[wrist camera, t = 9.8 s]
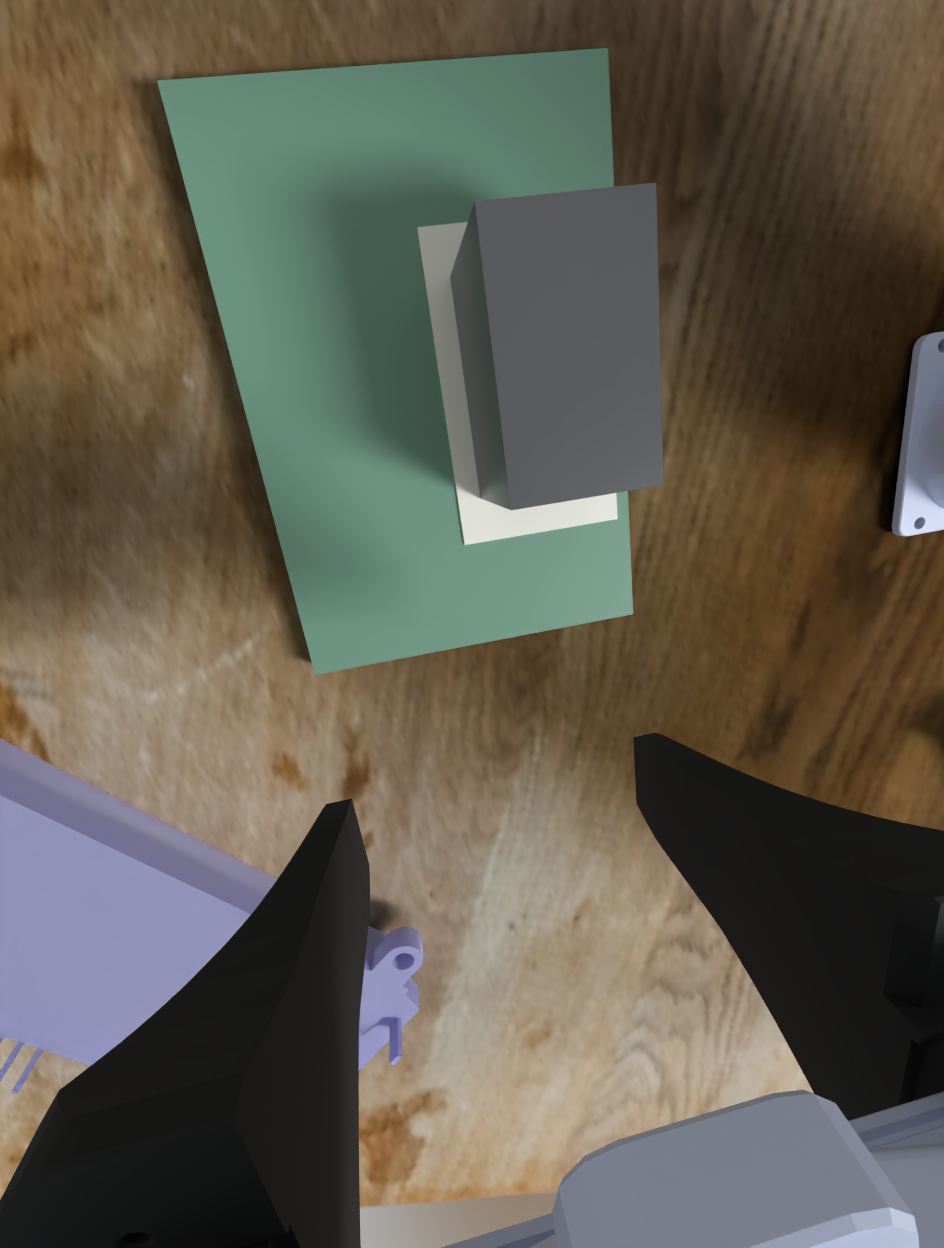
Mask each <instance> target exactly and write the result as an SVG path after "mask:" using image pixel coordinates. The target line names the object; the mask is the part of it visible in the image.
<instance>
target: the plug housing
mask: <svg viewBox="0 0 944 1248" xmlns="http://www.w3.org/2000/svg"><path fill="white" fill-rule="evenodd" d="M450 280H451V287H452V295H453V302H454V309H455V316H456V324H457V331H458V338H459V346H460V353H461V360H462V368H463V375H464V382H465V390H466V397H467V404H468V411H469V419H470V426H471V433H472V441H473V448H474V455H475V463H476V470H477V477H478V485H479V492H480V499H483V500H486V501H488V502H491V503H493V504H496V505H499V506H501V507H504V508H506V509H509V510H517V509H523V508H529V507H535V506H541V505H547V504H553V503H559V502H565V501H571V500H577V499H583V498H589V497H595V496H601V495H607V494H613V493H619V492H625V491H631V490H637V489H643V488H649V487H655V486H661V485H663V446H662V404H661V362H660V320H659V278H658V236H657V195H656V182H655V183H646V184H636V185H627V186H617V187H607V188H598V189H588V190H578V191H569V192H559V193H549V194H540V195H530V196H521V197H511V198H501V199H492V200H482V201H475V202H474V205H473V208H472V211H471V214H470V217H469V220H468V223H467V226H466V229H465V232H464V236H463V239H462V242H461V245H460V248H459V251H458V254H457V257H456V260H455V263H454V266H453V269H452V272H451V276H450Z"/></svg>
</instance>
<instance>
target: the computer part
mask: <svg viewBox="0 0 944 1248" xmlns="http://www.w3.org/2000/svg"><path fill="white" fill-rule="evenodd" d="M276 881H277V879H276V878H274V877H272V876H270V875H268V874H266V873H264V872H262V871H260V870H258V869H256V868H254V867H252V866H250V865H248V864H246V863H244V862H243V861H241V860H239V859H237V858H235V857H233V856H231V855H229V854H227V853H225V852H223V851H221V850H219V849H217V848H215V847H213V846H211V845H209V844H207V843H205V842H203V841H201V840H199V839H197V838H195V837H193V836H191V835H189V834H187V833H185V832H183V831H181V830H179V829H177V828H176V827H174V826H172V825H170V824H168V823H166V822H164V821H162V820H160V819H158V818H156V817H154V816H152V815H150V814H148V813H146V812H144V811H142V810H140V809H138V808H136V807H134V806H132V805H130V804H128V803H126V802H124V801H122V800H120V799H118V798H116V797H114V796H112V795H110V794H109V793H107V792H105V791H103V790H101V789H99V788H97V787H95V786H93V785H91V784H89V783H87V782H85V781H83V780H81V779H79V778H77V777H75V776H73V775H71V774H69V773H67V772H65V771H63V770H61V769H59V768H57V767H55V766H53V765H51V764H49V763H47V762H45V761H44V760H42V759H40V758H38V757H36V756H34V755H32V754H30V753H28V752H26V751H24V750H22V749H20V748H18V747H16V746H14V745H12V744H10V743H8V742H6V741H4V740H2V739H0V1043H1V1042H2V1040H3V1039H4V1037H5V1038H8V1039H11V1040H14V1041H17V1042H19V1043H18V1044H17V1046H16V1047H15V1049H14V1050H13V1052H12V1053H11V1055H10V1057H9V1058H8V1060H7V1061H6V1063H5V1064H4V1066H3V1067H2V1069H1V1071H0V1081H1V1079H2V1078H3V1076H4V1075H5V1073H6V1071H7V1070H8V1068H9V1067H10V1065H11V1064H12V1062H13V1060H14V1059H15V1057H16V1056H17V1054H18V1052H19V1051H20V1049H21V1048H22V1046H23V1044H26V1045H29V1046H32V1047H35V1048H38V1049H37V1051H36V1053H35V1054H34V1056H33V1058H32V1059H31V1061H30V1063H29V1064H28V1066H27V1067H26V1069H25V1071H24V1072H23V1074H22V1076H21V1077H20V1079H19V1081H18V1082H17V1084H16V1086H15V1087H14V1089H13V1091H12V1092H11V1093H13V1094H17V1093H18V1092H19V1090H20V1088H21V1087H22V1085H23V1083H24V1082H25V1080H26V1078H27V1076H28V1075H29V1073H30V1071H31V1070H32V1068H33V1066H34V1065H35V1063H36V1061H37V1060H38V1058H39V1056H40V1054H41V1053H42V1051H43V1050H44V1051H47V1052H50V1053H53V1054H56V1055H59V1056H62V1057H65V1058H68V1059H71V1060H74V1061H77V1062H80V1063H83V1064H86V1065H89V1066H91V1065H93V1064H94V1063H95V1062H96V1061H98V1060H99V1059H100V1058H101V1057H103V1056H104V1055H105V1054H106V1053H108V1052H109V1051H110V1050H112V1049H113V1048H114V1047H115V1046H117V1045H118V1044H119V1043H120V1042H122V1041H123V1040H124V1039H125V1038H126V1037H128V1036H129V1035H130V1034H131V1033H132V1032H134V1031H135V1030H136V1029H137V1028H138V1027H139V1026H141V1025H142V1024H143V1023H144V1022H145V1021H146V1020H147V1019H149V1018H150V1017H151V1016H152V1015H153V1014H154V1013H155V1012H157V1011H158V1010H159V1009H160V1008H161V1007H162V1006H163V1005H164V1004H165V1003H167V1002H168V1001H169V1000H170V999H171V998H172V997H173V996H174V995H175V994H176V993H177V992H178V991H180V990H181V989H182V988H183V987H184V986H185V985H186V984H187V983H188V982H189V981H190V980H191V979H192V978H193V977H194V976H195V975H196V974H197V973H198V972H199V971H200V970H201V969H202V968H203V967H204V966H205V965H206V964H207V963H208V962H209V961H210V959H211V958H212V957H213V956H214V955H215V954H216V953H217V952H218V951H219V950H220V949H221V948H222V947H223V946H224V945H225V944H226V943H227V942H228V941H229V940H230V938H231V937H232V936H233V935H234V934H235V933H236V932H237V930H238V929H239V928H240V927H241V926H242V925H243V924H244V922H245V921H246V920H247V919H248V918H249V916H250V915H251V914H252V913H253V911H254V910H255V909H256V908H257V906H258V905H259V904H260V902H261V901H262V900H263V898H264V897H265V896H266V894H267V893H268V892H269V890H270V889H271V887H272V886H273V885H274V883H275V882H276ZM422 963H423V949H422V937H421V935H420V933H419V932H418V931H417V930H415V929H413V928H409V927H402V928H397V929H395V930H393V931H391V932H390V933H389V934H388V935H386V934H384V933H382V932H380V931H378V930H376V929H375V928H373V927H371V926H369V925H368V936H367V946H366V956H365V966H364V976H363V986H362V996H361V1006H360V1022H359V1071H360V1070H361V1069H362V1068H363V1067H364V1066H365V1065H366V1064H367V1063H368V1062H369V1061H370V1060H371V1059H372V1058H373V1057H374V1056H375V1055H376V1054H377V1053H378V1052H379V1050H380V1049H381V1048H382V1047H383V1046H384V1045H385V1044H386V1043H387V1042H388V1041H389V1040H390V1064H391V1065H395V1064H396V1063H397V1062H398V1061H399V1060H400V1059H401V1058H402V1033H401V1028H402V1027H403V1026H404V1025H405V1024H406V1023H407V1022H408V1021H409V1020H410V1019H411V1018H412V1017H413V1016H414V1015H415V1014H416V1013H417V1012H418V1011H419V1010H420V1009H419V991H418V986H417V985H416V983H415V982H414V981H413V980H412V979H411V977H412V976H413V975H414V974H415V972H416V971H417V970H418V969H419V968H420V967H421V965H422Z"/></svg>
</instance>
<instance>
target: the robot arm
mask: <svg viewBox="0 0 944 1248" xmlns="http://www.w3.org/2000/svg"><path fill="white" fill-rule="evenodd" d="M939 343H940V348H939V350H938V345H939ZM915 521H916V524H915ZM914 524H915V525H914ZM938 530H944V332H936V333H931V334H927V335H924V336H921V337H920V338H919V339H918V340H917V342H916V343H915V345H914V348H913V353H912V362H911V370H910V378H909V387H908V395H907V403H906V412H905V420H904V428H903V437H902V445H901V453H900V462H899V470H898V478H897V487H896V495H895V503H894V512H893V520H892V531H893V533H894V534H896V535H898V536H911V535H917V534H922V533H928V532H933V531H938ZM634 758H635V779H636V800H637V805H638V807H639V809H640V811H641V813H642V815H643V817H644V818H645V820H646V822H647V824H648V826H649V828H650V829H651V831H652V833H653V835H654V836H655V838H656V840H657V841H658V842H659V844H660V845H661V847H662V848H663V850H664V851H665V852H666V854H667V855H668V856H669V858H670V859H671V861H672V862H673V863H674V865H675V866H676V868H677V869H678V870H679V872H680V873H681V874H682V876H683V877H684V878H685V880H686V881H687V882H688V884H689V885H690V887H691V888H692V889H693V891H694V892H695V893H696V895H697V896H698V897H699V899H700V900H701V902H702V903H703V904H704V906H705V907H706V908H707V910H708V911H709V912H710V914H711V915H712V917H713V918H714V920H715V921H716V922H717V924H718V925H719V927H720V928H721V930H722V931H723V933H724V934H725V936H726V938H727V939H728V941H729V943H730V944H731V946H732V948H733V949H734V951H735V953H736V954H737V956H738V958H739V959H740V961H741V963H742V964H743V966H744V968H745V969H746V971H747V973H748V974H749V976H750V978H751V979H752V981H753V983H754V985H755V986H756V988H757V990H758V992H759V993H760V995H761V997H762V999H763V1000H764V1002H765V1004H766V1006H767V1007H768V1009H769V1011H770V1013H771V1014H772V1016H773V1018H774V1020H775V1021H776V1023H777V1025H778V1027H779V1029H780V1031H781V1032H782V1034H783V1036H784V1038H785V1040H786V1042H787V1043H788V1045H789V1047H790V1049H791V1051H792V1053H793V1055H794V1056H795V1058H796V1060H797V1062H798V1064H799V1066H800V1067H801V1069H802V1071H803V1073H804V1075H805V1077H806V1079H807V1080H808V1082H809V1084H810V1086H811V1088H812V1090H813V1092H814V1094H813V1093H811V1092H808V1091H805V1090H798V1091H789V1092H781V1093H773V1094H769V1095H766V1096H763V1097H759V1098H756V1099H753V1100H749V1101H746V1102H743V1103H739V1104H736V1105H733V1106H729V1107H726V1108H723V1109H719V1110H716V1111H713V1112H709V1113H706V1114H703V1115H699V1116H696V1117H693V1118H689V1119H686V1120H683V1121H679V1122H676V1123H673V1124H669V1125H666V1126H663V1127H659V1128H656V1129H653V1130H649V1131H646V1132H643V1133H639V1134H636V1135H633V1136H629V1137H626V1138H623V1139H619V1140H617V1141H615V1142H613V1143H611V1144H608V1145H606V1146H604V1147H602V1148H600V1149H598V1150H596V1151H594V1152H592V1153H590V1154H588V1155H586V1156H584V1157H583V1158H582V1159H581V1160H580V1161H579V1162H578V1163H577V1164H576V1165H575V1166H574V1167H573V1169H572V1170H571V1171H570V1172H569V1173H568V1174H567V1175H566V1176H565V1177H564V1178H563V1179H562V1181H561V1184H560V1186H559V1189H558V1193H557V1196H556V1200H555V1204H554V1208H553V1212H552V1213H551V1214H548V1215H545V1216H542V1217H539V1218H536V1219H532V1220H529V1221H526V1222H523V1223H519V1224H516V1225H513V1226H510V1227H506V1228H504V1229H500V1230H497V1231H494V1232H490V1233H487V1234H484V1235H481V1236H478V1237H474V1238H471V1239H468V1240H465V1241H461V1242H458V1243H455V1244H452V1245H449V1246H445V1247H442V1248H944V831H942V830H937V829H932V828H926V827H921V826H916V825H911V824H906V823H901V822H897V821H892V820H888V819H883V818H879V817H875V816H871V815H867V814H863V813H860V812H856V811H852V810H848V809H844V808H841V807H837V806H834V805H830V804H827V803H824V802H821V801H818V800H815V799H812V798H809V797H806V796H803V795H800V794H797V793H794V792H791V791H788V790H785V789H782V788H780V787H777V786H774V785H772V784H769V783H767V782H764V781H762V780H760V779H757V778H755V777H752V776H750V775H747V774H745V773H743V772H740V771H738V770H736V769H734V768H731V767H729V766H727V765H725V764H723V763H720V762H718V761H716V760H714V759H712V758H710V757H708V756H705V755H703V754H701V753H699V752H697V751H695V750H693V749H691V748H689V747H687V746H685V745H683V744H681V743H678V742H676V741H674V740H672V739H670V738H668V737H665V736H663V735H661V734H658V733H652V734H647V735H643V736H638V737H634ZM369 914H370V874H369V863H368V859H367V855H366V851H365V847H364V844H363V840H362V836H361V832H360V828H359V825H358V821H357V817H356V813H355V809H354V806H353V802H352V799H348V800H343V801H339V802H334V803H329V804H326V805H325V807H324V808H323V810H322V811H321V813H320V814H319V816H318V818H317V819H316V821H315V823H314V824H313V826H312V828H311V829H310V831H309V832H308V834H307V836H306V837H305V839H304V840H303V842H302V844H301V845H300V847H299V848H298V850H297V851H296V853H295V854H294V856H293V857H292V859H291V860H290V862H289V863H288V865H287V866H286V868H285V869H284V871H283V872H282V874H281V875H280V877H279V878H278V879H277V881H276V882H275V883H274V885H273V886H272V887H271V889H270V890H269V892H268V893H267V894H266V896H265V897H264V898H263V900H262V901H261V902H260V904H259V905H258V906H257V908H256V909H255V910H254V911H253V913H252V914H251V915H250V916H249V918H248V919H247V920H246V921H245V922H244V924H243V925H242V926H241V927H240V928H239V929H238V930H237V932H236V933H235V934H234V935H233V936H232V937H231V938H230V940H229V941H228V942H227V943H226V944H225V945H224V946H223V947H222V948H221V949H220V950H219V951H218V952H217V953H216V954H215V955H214V956H213V957H212V958H211V959H210V961H209V962H208V963H207V964H206V965H205V966H204V967H203V968H202V969H201V970H200V971H199V972H198V973H197V974H196V975H195V976H194V977H193V978H192V979H191V980H190V981H189V982H188V983H187V984H186V985H185V986H184V987H183V988H182V989H181V990H180V991H178V992H177V993H176V994H175V995H174V996H173V997H172V998H171V999H170V1000H169V1001H168V1002H167V1003H165V1004H164V1005H163V1006H162V1007H161V1008H160V1009H159V1010H158V1011H157V1012H155V1013H154V1014H153V1015H152V1016H151V1017H150V1018H149V1019H147V1020H146V1021H145V1022H144V1023H143V1024H142V1025H141V1026H139V1027H138V1028H137V1029H136V1030H135V1031H134V1032H132V1033H131V1034H130V1035H129V1036H128V1037H126V1038H125V1039H124V1040H123V1041H122V1042H120V1043H119V1044H118V1045H117V1046H115V1047H114V1048H113V1049H112V1050H110V1051H109V1052H108V1053H106V1054H105V1055H104V1056H103V1057H101V1058H100V1059H99V1060H98V1061H96V1062H95V1063H94V1064H93V1065H91V1066H90V1067H89V1068H88V1069H86V1070H85V1071H84V1072H82V1073H81V1074H80V1075H79V1076H77V1077H76V1078H75V1079H74V1080H72V1081H71V1082H70V1083H68V1084H67V1085H66V1086H64V1087H63V1088H62V1089H60V1090H59V1092H58V1093H57V1095H56V1097H55V1099H54V1100H53V1102H52V1104H51V1106H50V1107H49V1109H48V1111H47V1113H46V1114H45V1116H44V1118H43V1120H42V1122H41V1123H40V1125H39V1127H38V1129H37V1131H36V1133H35V1135H34V1137H33V1139H32V1140H31V1142H30V1144H29V1146H28V1148H27V1150H26V1152H25V1154H24V1156H23V1158H22V1160H21V1162H20V1164H19V1165H18V1167H17V1169H16V1171H15V1173H14V1175H13V1177H12V1179H11V1181H10V1183H9V1185H8V1187H7V1189H6V1190H5V1192H4V1194H3V1196H2V1198H1V1200H0V1248H361V1246H360V1203H359V1094H358V1081H359V1022H360V1006H361V996H362V986H363V976H364V966H365V956H366V946H367V936H368V925H369Z"/></svg>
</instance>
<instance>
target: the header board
mask: <svg viewBox="0 0 944 1248" xmlns="http://www.w3.org/2000/svg"><path fill="white" fill-rule="evenodd" d="M157 82H158V86H159V90H160V94H161V97H162V101H163V105H164V109H165V112H166V116H167V120H168V124H169V127H170V131H171V135H172V139H173V142H174V146H175V150H176V154H177V157H178V161H179V165H180V169H181V172H182V176H183V180H184V184H185V188H186V191H187V195H188V199H189V203H190V206H191V210H192V214H193V218H194V221H195V225H196V229H197V233H198V236H199V240H200V244H201V248H202V251H203V255H204V259H205V263H206V267H207V270H208V274H209V278H210V282H211V285H212V289H213V293H214V297H215V300H216V304H217V308H218V312H219V315H220V319H221V323H222V327H223V330H224V334H225V338H226V342H227V346H228V349H229V353H230V357H231V361H232V364H233V368H234V372H235V376H236V379H237V383H238V387H239V391H240V394H241V398H242V402H243V406H244V409H245V413H246V417H247V421H248V425H249V428H250V432H251V436H252V440H253V443H254V447H255V451H256V455H257V458H258V462H259V466H260V470H261V473H262V477H263V481H264V485H265V488H266V492H267V496H268V500H269V504H270V507H271V511H272V515H273V519H274V522H275V526H276V530H277V534H278V537H279V541H280V545H281V549H282V552H283V556H284V560H285V564H286V567H287V571H288V575H289V579H290V582H291V586H292V590H293V594H294V598H295V601H296V605H297V609H298V613H299V616H300V620H301V624H302V628H303V631H304V635H305V639H306V643H307V646H308V650H309V654H310V658H311V661H312V665H313V669H314V673H315V675H317V674H323V673H328V672H333V671H338V670H343V669H349V668H354V667H359V666H364V665H370V664H375V663H380V662H385V661H390V660H396V659H401V658H406V657H411V656H417V655H422V654H427V653H432V652H437V651H443V650H448V649H453V648H458V647H464V646H469V645H474V644H479V643H485V642H490V641H495V640H500V639H505V638H511V637H516V636H521V635H526V634H532V633H537V632H542V631H547V630H552V629H558V628H563V627H568V626H573V625H579V624H584V623H589V622H594V621H599V620H605V619H610V618H615V617H620V616H626V615H631V614H633V600H632V578H631V555H630V533H629V510H628V491H625V492H619V493H613V494H607V495H601V496H595V497H589V498H583V499H577V500H571V501H565V502H559V503H553V504H547V505H541V506H535V507H529V508H523V509H517V510H509V509H506V508H504V507H501V506H499V505H496V504H493V503H491V502H488V501H486V500H483V499H480V492H479V485H478V477H477V470H476V463H475V455H474V448H473V441H472V433H471V426H470V419H469V411H468V404H467V397H466V390H465V382H464V375H463V368H462V360H461V353H460V346H459V338H458V331H457V324H456V316H455V309H454V302H453V295H452V287H451V280H450V276H451V272H452V269H453V266H454V263H455V260H456V257H457V254H458V251H459V248H460V245H461V242H462V239H463V236H464V232H465V229H466V226H467V223H468V220H469V217H470V214H471V211H472V208H473V205H474V202H475V201H482V200H492V199H501V198H511V197H521V196H530V195H540V194H549V193H559V192H569V191H578V190H588V189H598V188H607V187H614V172H613V149H612V127H611V104H610V81H609V59H608V48H599V49H585V50H572V51H558V52H544V53H530V54H517V55H503V56H489V57H475V58H462V59H448V60H434V61H420V62H407V63H393V64H379V65H365V66H352V67H338V68H324V69H310V70H297V71H283V72H269V73H255V74H242V75H228V76H214V77H200V78H187V79H173V80H159V81H157Z"/></svg>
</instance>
